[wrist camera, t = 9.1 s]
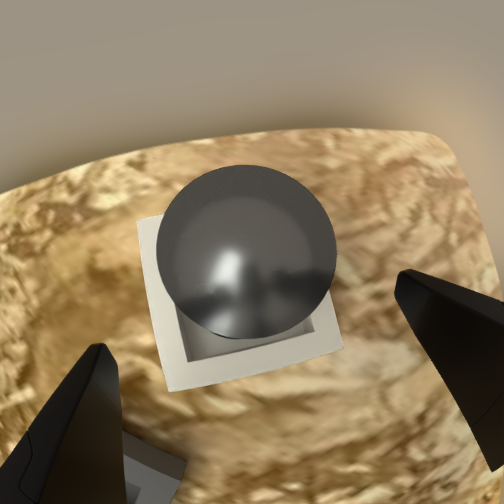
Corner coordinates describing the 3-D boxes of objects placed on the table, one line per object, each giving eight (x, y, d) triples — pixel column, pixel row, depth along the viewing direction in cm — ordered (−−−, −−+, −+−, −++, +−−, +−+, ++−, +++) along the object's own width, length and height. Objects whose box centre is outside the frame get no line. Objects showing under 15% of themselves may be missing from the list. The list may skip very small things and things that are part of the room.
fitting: (229, 358, 15) (234, 388, 7) (171, 284, 16) (114, 229, 7) (300, 298, 16) (377, 259, 8) (242, 230, 17) (259, 132, 9)
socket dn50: (326, 346, 17) (344, 348, 14) (177, 382, 15) (168, 392, 13) (287, 208, 19) (297, 188, 16) (148, 236, 17) (136, 220, 15)
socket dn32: (154, 526, 12) (146, 547, 9) (65, 478, 12) (47, 492, 9) (186, 461, 14) (180, 481, 11) (86, 408, 14) (66, 418, 11)
